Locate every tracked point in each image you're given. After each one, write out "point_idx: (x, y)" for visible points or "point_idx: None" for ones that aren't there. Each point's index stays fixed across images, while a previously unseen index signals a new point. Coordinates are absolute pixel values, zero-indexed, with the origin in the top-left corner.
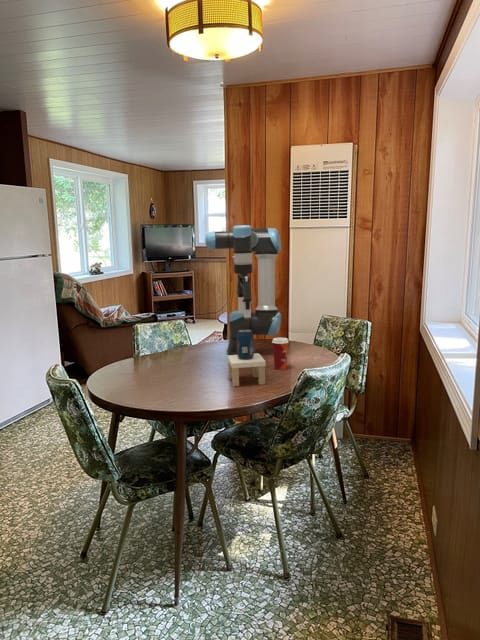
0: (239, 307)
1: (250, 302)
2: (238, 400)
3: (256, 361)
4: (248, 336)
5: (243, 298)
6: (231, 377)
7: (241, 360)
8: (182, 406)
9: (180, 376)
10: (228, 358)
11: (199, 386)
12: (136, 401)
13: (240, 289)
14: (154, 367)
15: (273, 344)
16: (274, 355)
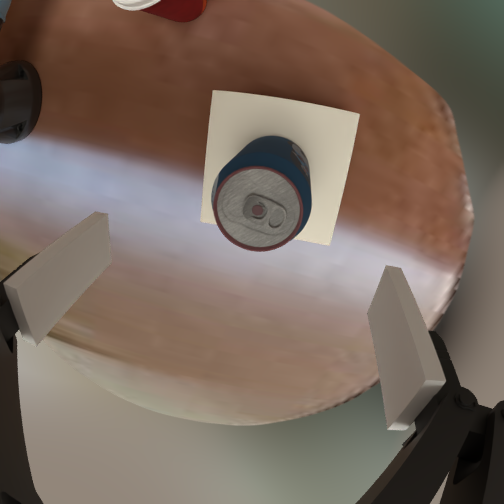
0: (88, 279)
1: (441, 370)
2: (430, 238)
3: (347, 150)
4: (311, 199)
5: (28, 292)
6: None
7: None
8: None
9: (170, 301)
10: None
11: (274, 287)
12: (311, 397)
13: (17, 431)
14: (91, 323)
15: (147, 7)
16: (170, 14)
